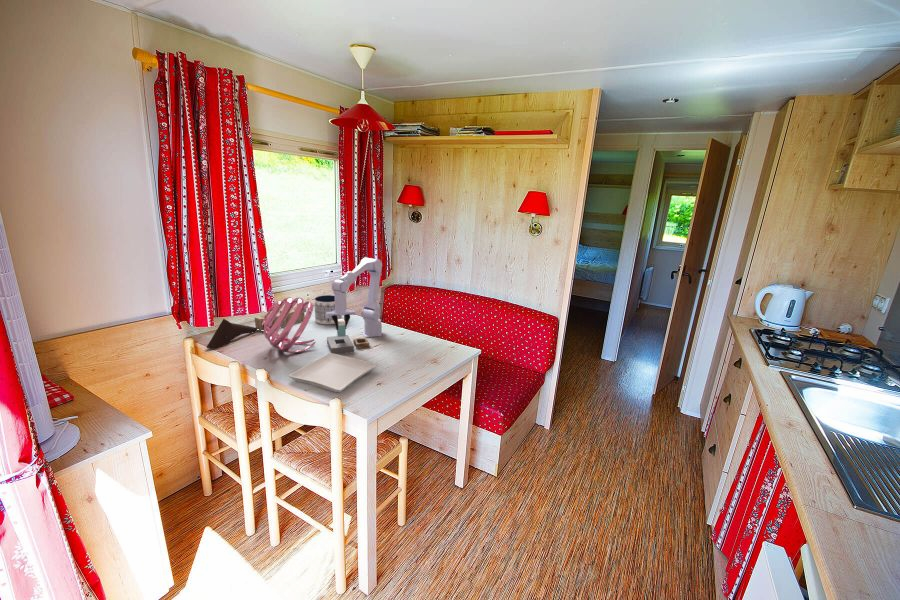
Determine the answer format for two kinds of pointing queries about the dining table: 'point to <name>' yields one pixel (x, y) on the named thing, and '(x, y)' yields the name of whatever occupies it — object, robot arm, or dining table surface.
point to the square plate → (333, 372)
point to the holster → (228, 333)
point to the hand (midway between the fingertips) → (341, 328)
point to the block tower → (260, 318)
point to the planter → (324, 309)
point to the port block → (340, 344)
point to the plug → (341, 328)
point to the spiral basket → (275, 328)
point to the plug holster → (361, 343)
